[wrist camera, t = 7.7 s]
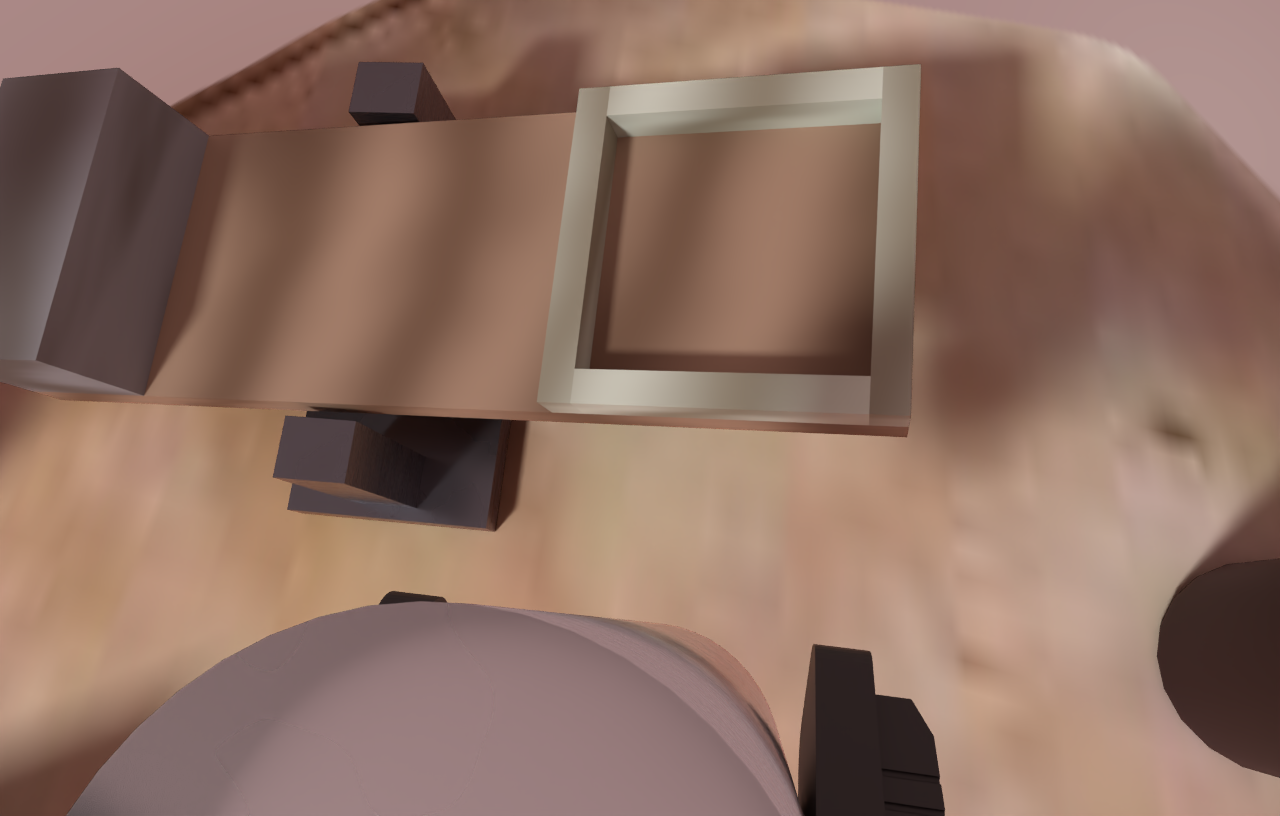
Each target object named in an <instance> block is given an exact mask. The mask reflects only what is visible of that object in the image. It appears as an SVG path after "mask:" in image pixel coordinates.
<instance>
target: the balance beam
mask: <svg viewBox="0 0 1280 816" xmlns="http://www.w3.org/2000/svg"><path fill="white" fill-rule="evenodd" d="M920 85H921V64H915V65H901V66H887V67H873V68H859V69H846V70H832V71H818V72H804V73H790V74H776V75H762V76H748V77H735V78H721V79H707V80H693V81H679V82H665V83H651V84H638V85H624V86H610V87H596V88H582V89H579V96H578V103H577V110H576V112H573V113H558V114H542V115H527V116H511V117H495V118H480V119H464V120H448V121H433V122H417V123H401V124H386V125H370V126H355V127H339V128H323V129H308V130H292V131H276V132H261V133H245V134H229V135H214V136H209V135H207V134H206V133H205V132H203V131H202V130H201V129H199V128H198V127H197V126H195V125H194V124H193V123H191V122H190V121H189V120H187V119H186V118H185V117H183V116H182V115H181V114H179V113H178V112H177V111H175V110H174V109H173V108H171V107H170V106H169V105H167V104H166V103H165V102H163V101H162V100H161V99H159V98H158V97H157V96H155V95H154V94H153V93H151V92H150V91H149V90H147V89H146V88H145V87H143V86H142V85H141V84H140V83H138V82H137V81H135V80H134V79H133V78H131V77H130V76H129V75H128V74H126V73H125V72H124V71H122V70H121V69H120V68H111V69H100V70H91V71H90V70H89V71H79V72H68V73H58V74H47V75H37V76H27V77H16V78H5V79H3V81H2V84H1V87H0V382H2V383H6V384H9V385H13V386H16V387H20V388H23V389H27V390H30V391H34V392H37V393H40V394H44V395H47V396H51V397H54V398H58V399H61V400H74V401H97V402H120V403H142V404H165V405H188V406H211V407H233V408H256V409H279V410H302V411H324V412H347V413H370V414H393V415H415V416H438V417H461V418H484V419H506V420H529V421H552V422H575V423H597V424H620V425H643V426H666V427H688V428H711V429H734V430H757V431H779V432H802V433H825V434H848V435H870V436H893V437H907V434H908V429H909V424H910V419H911V399H912V364H913V329H914V294H915V259H916V224H917V189H918V154H919V119H920Z"/></svg>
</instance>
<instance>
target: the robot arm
mask: <svg viewBox="0 0 1280 816" xmlns="http://www.w3.org/2000/svg"><path fill="white" fill-rule="evenodd" d="M417 601H425V602H444V603H447V601H446V600H445V598H443V597H437V596H429V595H421V594H413V593H405V592H396V591H391V592H389V593H388V594H386V595H385V596H384V598H383V599H382V600H381V602H380V604H379V605H383V604H394V603H406V602H417ZM939 779H940V774H939V768H938V761H937V754H936V748H935V741H934V736H933V734H932V733H931V731H930V729H929V728H928V726H927V724H926V723H925V721H924V719H923V718H922V716H921V714H920V713H919V711H918V709H917V708H916V706H915V705H914V703H913V701H912V700H911V699H905V698H898V697H890V696H883V695H875V685H874V674H873V662H872V655H871V652H870V651H865V650H857V649H849V648H841V647H833V646H825V645H817V644H813V647H812V652H811V658H810V665H809V673H808V680H807V687H806V694H805V701H804V708H803V716H802V723H801V733H800V747H799V770H798V800H799V803H800V807H801V810H802V813H803V816H945V807H944V801H943V794H942V788H941V785H940V782H939Z"/></svg>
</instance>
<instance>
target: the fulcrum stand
mask: <svg viewBox="0 0 1280 816" xmlns="http://www.w3.org/2000/svg"><path fill="white" fill-rule="evenodd" d="M349 113H350V114H351V115H352V117H353V118H354V119H355V120H356V122H357V123H358V124H359V126H370V125H386V124H401V123H417V122H433V121H448V120H456V119H455V117H454V116H453V114H452V112H451V110H450V109H449V107H448V105H447V104H446V102H445V100H444V98H443V97H442V95H441V93H440V91H439V90H438V88H437V86H436V84H435V83H434V81H433V79H432V78H431V76H430V74H429V72H428V71H427V69H426V67H425V65H424V64H423V63H394V62H359V64H358V69H357V74H356V79H355V84H354V89H353V93H352V98H351V103H350V108H349ZM510 425H511V420H506V419H484V418H461V417H438V416H415V415H393V414H370V413H347V412H324V411H307V414H306V417H296V416H285V421H284V426H283V431H282V435H281V440H280V445H279V450H278V455H277V459H276V464H275V469H274V474H273V478H277V479H280V480H283V481H287V482H290V483H292V488H291V493H290V498H289V503H288V508H287V510H291V511H296V512H300V513H305V514H315V515H326V516H336V517H347V518H357V519H368V520H378V521H389V522H399V523H410V524H420V525H431V526H441V527H451V528H462V529H472V530H483V531H493V532H495V530H496V523H497V516H498V509H499V502H500V495H501V488H502V481H503V474H504V467H505V460H506V453H507V446H508V439H509V432H510Z"/></svg>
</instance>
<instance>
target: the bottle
mask: <svg viewBox="0 0 1280 816" xmlns="http://www.w3.org/2000/svg"><path fill="white" fill-rule="evenodd" d="M1157 659H1158V663H1159V668H1160V672H1161V677H1162V682H1163V686H1164V689H1165V691H1166V693H1167V695H1168V696H1169V698H1170V700H1171V702H1172V704H1173V705H1174V707H1175V709H1176V711H1177V713H1178V714H1179V716H1180V718H1181V720H1182V721H1183V722H1184V723H1185V724H1186V725H1187V726H1188V727H1189V728H1190V729H1191V730H1192V731H1193V732H1194V733H1195V734H1196V735H1197V736H1198V737H1199V738H1200V739H1201V740H1202V741H1203V742H1204V743H1205V744H1206V745H1207V746H1208V747H1209V748H1211V749H1213V750H1214V751H1216V752H1218V753H1220V754H1221V755H1223V756H1225V757H1226V758H1228V759H1230V760H1232V761H1233V762H1235V763H1237V764H1238V765H1240V766H1242V767H1245V768H1248V769H1252V770H1255V771H1259V772H1262V773H1265V774H1269V775H1272V776H1276V777H1279V778H1280V559H1271V560H1263V561H1254V562H1245V563H1237V564H1228V565H1224V566H1222V567H1219V568H1217V569H1215V570H1212V571H1210V572H1208V573H1205V574H1203V575H1200V576H1198V577H1196V578H1195V579H1194V580H1193V581H1192V582H1191V583H1190V584H1189V585H1188V586H1187V587H1186V588H1185V589H1183V590H1182V591H1181V592H1180V593H1179V594H1178V595H1177V596H1176V597H1175V598H1174V599H1173V601H1172V603H1171V605H1170V607H1169V609H1168V611H1167V613H1166V615H1165V617H1164V619H1163V621H1162V623H1161V625H1160V632H1159V642H1158V651H1157Z"/></svg>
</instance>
